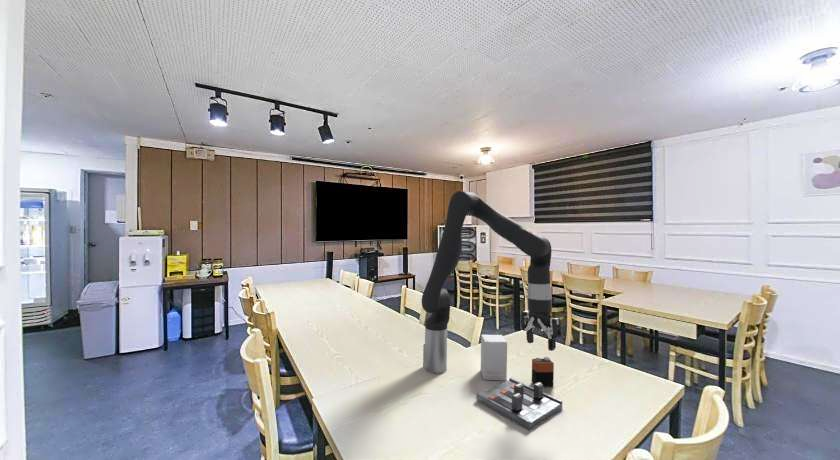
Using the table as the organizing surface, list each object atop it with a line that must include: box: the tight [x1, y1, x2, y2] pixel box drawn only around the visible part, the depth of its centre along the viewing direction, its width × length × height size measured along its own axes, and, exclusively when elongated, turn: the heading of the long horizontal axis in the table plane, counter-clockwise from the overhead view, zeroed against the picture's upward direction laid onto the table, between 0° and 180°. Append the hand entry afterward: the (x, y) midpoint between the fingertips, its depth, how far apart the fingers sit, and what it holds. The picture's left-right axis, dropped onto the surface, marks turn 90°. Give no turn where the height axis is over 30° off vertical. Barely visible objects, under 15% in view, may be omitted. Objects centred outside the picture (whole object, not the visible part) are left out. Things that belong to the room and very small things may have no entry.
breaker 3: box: [533, 382, 544, 399], centre depth 106 cm, size 2×2×4 cm
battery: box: [531, 356, 555, 388], centre depth 120 cm, size 4×7×10 cm, turn 94°
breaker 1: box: [514, 382, 524, 398], centre depth 105 cm, size 2×2×4 cm
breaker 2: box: [512, 393, 522, 411], centre depth 99 cm, size 2×2×4 cm
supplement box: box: [480, 334, 508, 381], centre depth 127 cm, size 9×9×15 cm
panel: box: [476, 377, 563, 432], centre depth 105 cm, size 20×19×3 cm
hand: (540, 346), depth 104 cm, fingers open, 8 cm apart
